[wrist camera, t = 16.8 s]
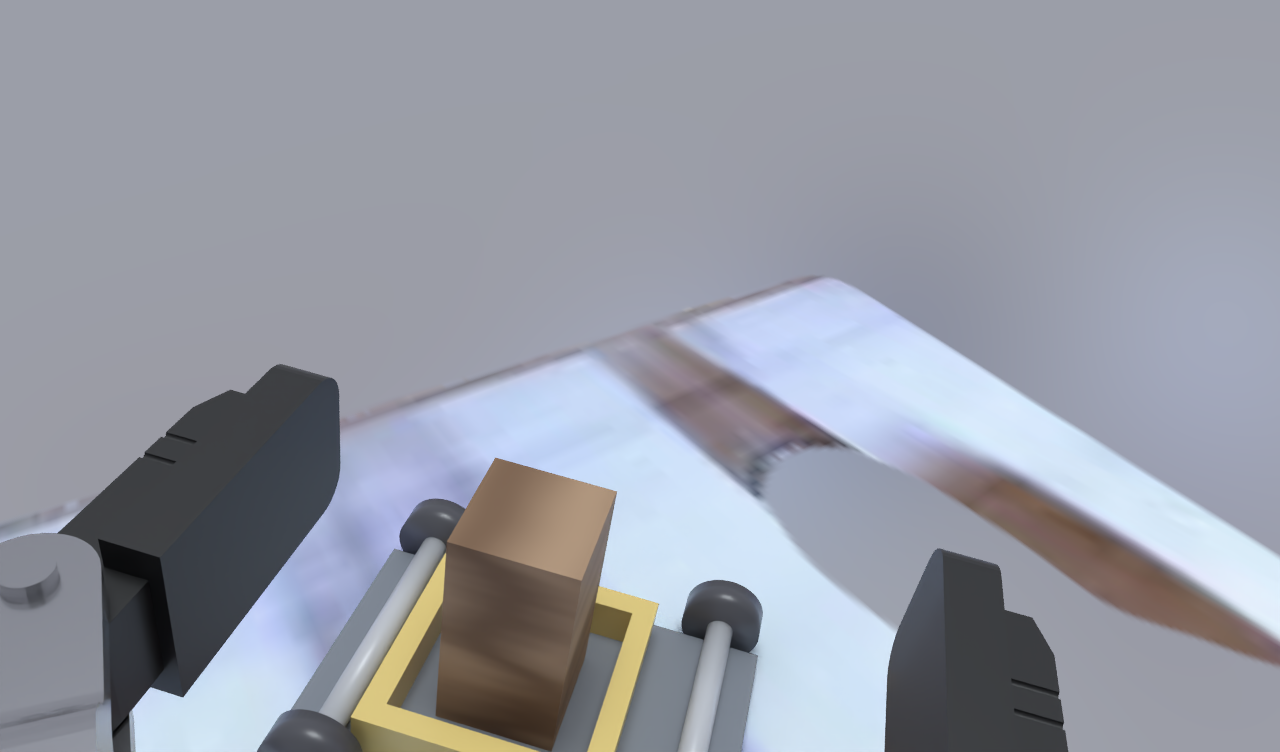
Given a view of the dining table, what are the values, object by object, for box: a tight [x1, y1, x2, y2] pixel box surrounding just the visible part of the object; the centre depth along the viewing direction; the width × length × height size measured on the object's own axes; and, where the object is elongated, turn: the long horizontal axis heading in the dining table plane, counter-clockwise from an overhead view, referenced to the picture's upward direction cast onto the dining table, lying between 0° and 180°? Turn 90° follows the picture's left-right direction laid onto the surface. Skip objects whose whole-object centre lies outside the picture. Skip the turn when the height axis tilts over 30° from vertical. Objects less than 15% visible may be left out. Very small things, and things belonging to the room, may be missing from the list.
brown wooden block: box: [435, 458, 617, 752], centre depth 40 cm, size 5×5×10 cm
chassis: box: [257, 499, 763, 752], centre depth 42 cm, size 18×14×4 cm
